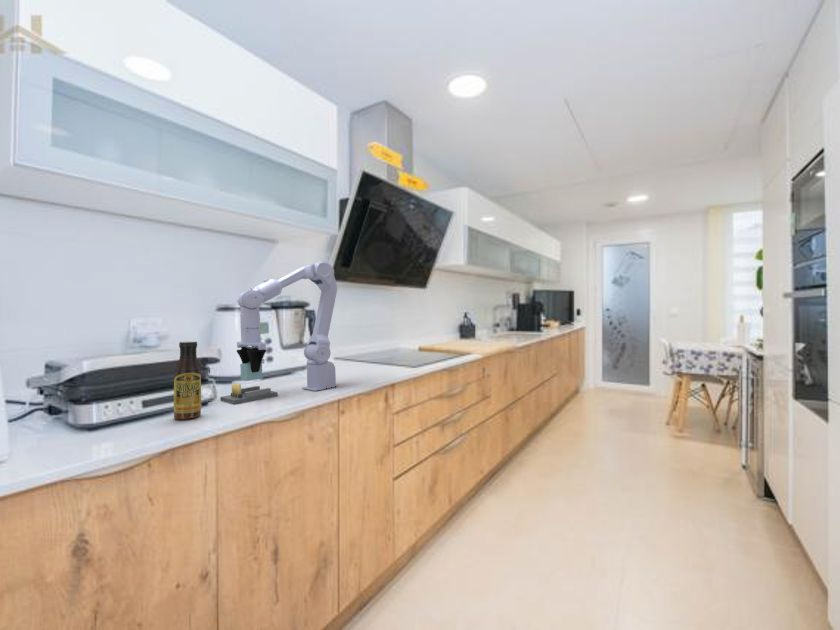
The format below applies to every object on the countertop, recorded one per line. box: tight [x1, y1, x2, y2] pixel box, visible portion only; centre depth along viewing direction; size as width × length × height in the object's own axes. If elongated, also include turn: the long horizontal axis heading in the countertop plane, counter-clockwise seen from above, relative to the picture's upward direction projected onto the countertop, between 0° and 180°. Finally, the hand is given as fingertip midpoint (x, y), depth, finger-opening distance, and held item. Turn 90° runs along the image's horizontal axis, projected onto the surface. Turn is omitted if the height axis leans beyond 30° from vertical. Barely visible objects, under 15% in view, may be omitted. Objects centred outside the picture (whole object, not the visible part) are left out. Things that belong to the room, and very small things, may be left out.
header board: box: [219, 382, 279, 406], centre depth 126 cm, size 14×9×5 cm, turn 141°
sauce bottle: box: [173, 340, 202, 421], centre depth 104 cm, size 6×6×20 cm
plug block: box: [239, 362, 263, 382], centre depth 126 cm, size 5×4×6 cm
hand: (251, 371), depth 126 cm, fingers closed on plug block, 4 cm apart
